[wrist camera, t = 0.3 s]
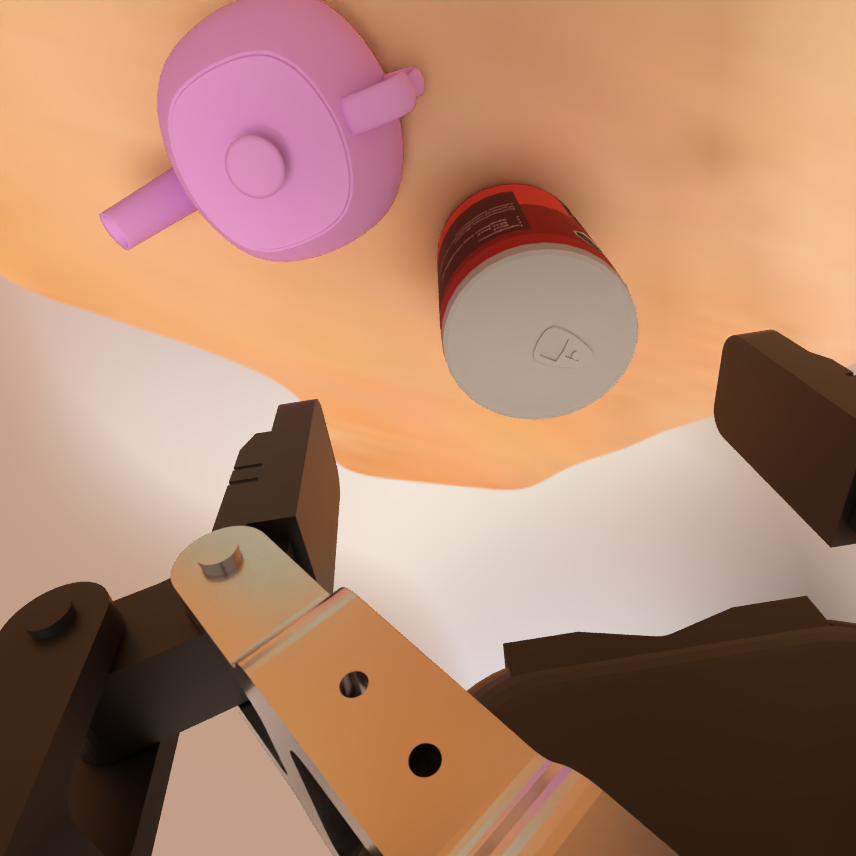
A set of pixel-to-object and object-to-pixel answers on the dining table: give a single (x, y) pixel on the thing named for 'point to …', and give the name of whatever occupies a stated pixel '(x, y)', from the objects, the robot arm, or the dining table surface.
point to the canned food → (530, 306)
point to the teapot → (274, 133)
